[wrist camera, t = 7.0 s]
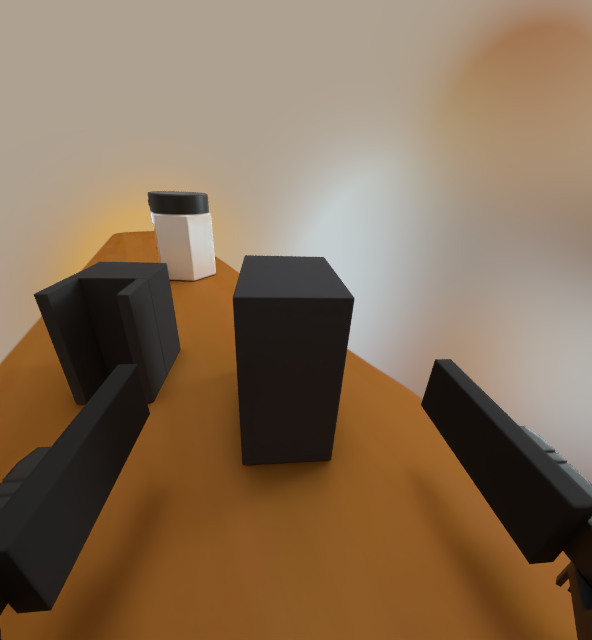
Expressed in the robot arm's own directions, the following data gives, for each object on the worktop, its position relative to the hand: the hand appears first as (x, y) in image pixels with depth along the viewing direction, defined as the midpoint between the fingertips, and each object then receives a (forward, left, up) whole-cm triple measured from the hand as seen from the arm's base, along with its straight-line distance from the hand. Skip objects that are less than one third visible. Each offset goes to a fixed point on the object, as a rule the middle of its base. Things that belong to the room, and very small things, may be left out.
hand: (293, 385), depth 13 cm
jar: (+17, +35, -6) cm, 39 cm away
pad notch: (-1, +15, -6) cm, 16 cm away
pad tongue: (+4, +4, -6) cm, 8 cm away
